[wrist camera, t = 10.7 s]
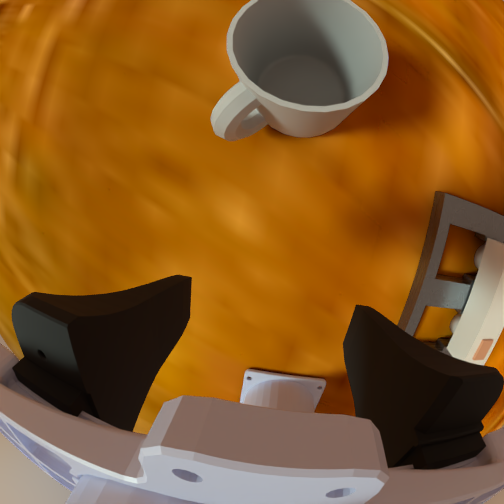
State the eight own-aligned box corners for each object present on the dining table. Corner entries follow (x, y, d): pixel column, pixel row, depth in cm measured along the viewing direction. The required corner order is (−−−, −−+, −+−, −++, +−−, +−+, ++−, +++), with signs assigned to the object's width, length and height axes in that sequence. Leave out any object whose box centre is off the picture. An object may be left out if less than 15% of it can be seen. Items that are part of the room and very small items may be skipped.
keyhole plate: (465, 358, 21) (471, 366, 20) (383, 358, 22) (387, 368, 21) (515, 222, 17) (525, 226, 15) (435, 191, 18) (445, 192, 16)
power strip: (461, 339, 21) (484, 367, 16) (439, 338, 21) (461, 369, 16) (497, 240, 18) (531, 256, 12) (476, 232, 18) (511, 249, 13)
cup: (367, 106, 17) (417, 68, 8) (263, 180, 19) (244, 186, 11) (305, 39, 16) (313, -29, 7) (204, 109, 18) (149, 74, 10)
